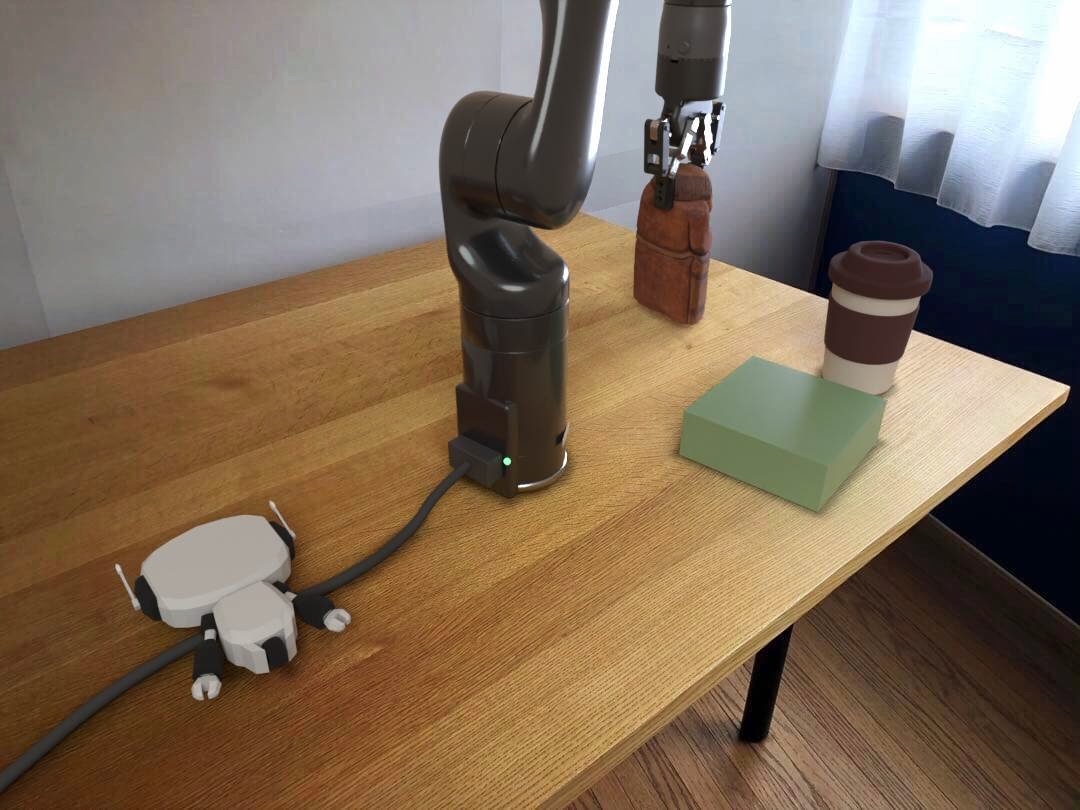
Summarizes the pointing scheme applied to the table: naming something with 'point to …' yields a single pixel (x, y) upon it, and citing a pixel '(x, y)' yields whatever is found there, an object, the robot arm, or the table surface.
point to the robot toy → (231, 595)
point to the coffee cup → (871, 313)
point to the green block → (782, 430)
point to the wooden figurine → (675, 248)
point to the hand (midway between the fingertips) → (678, 201)
